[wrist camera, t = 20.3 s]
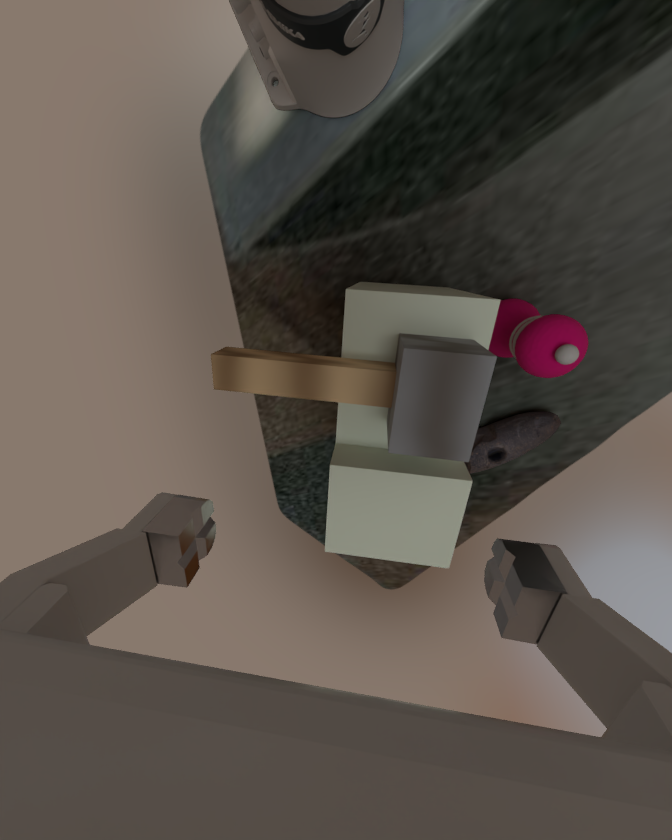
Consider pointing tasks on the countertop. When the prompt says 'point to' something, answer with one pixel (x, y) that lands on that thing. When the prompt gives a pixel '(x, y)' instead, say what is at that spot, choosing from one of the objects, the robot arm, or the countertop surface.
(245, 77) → the countertop surface
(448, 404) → the mallet
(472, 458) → the perforated stone tool
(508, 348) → the pepper mill
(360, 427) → the block
